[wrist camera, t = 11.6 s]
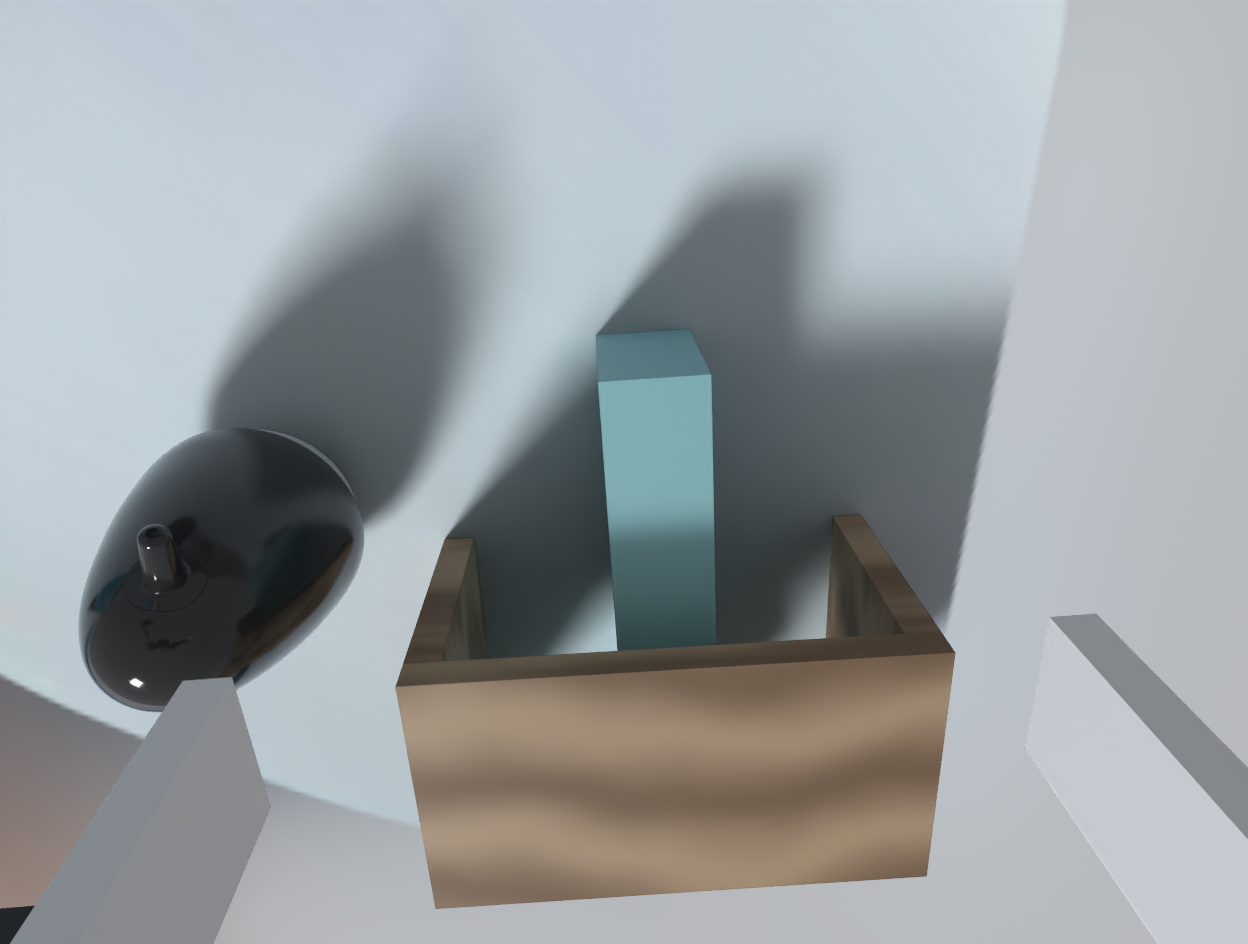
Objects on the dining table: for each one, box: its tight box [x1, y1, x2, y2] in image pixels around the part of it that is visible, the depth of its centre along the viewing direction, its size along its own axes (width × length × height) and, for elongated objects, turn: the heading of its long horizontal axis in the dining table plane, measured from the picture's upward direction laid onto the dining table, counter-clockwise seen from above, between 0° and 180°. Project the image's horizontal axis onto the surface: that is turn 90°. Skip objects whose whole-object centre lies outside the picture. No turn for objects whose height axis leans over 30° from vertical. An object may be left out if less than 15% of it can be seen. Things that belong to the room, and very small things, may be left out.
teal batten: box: [596, 329, 716, 651], centre depth 42 cm, size 23×4×8 cm, turn 3°
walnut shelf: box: [396, 515, 955, 909], centre depth 41 cm, size 12×22×12 cm, turn 93°
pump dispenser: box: [79, 428, 364, 712], centre depth 36 cm, size 10×10×15 cm
